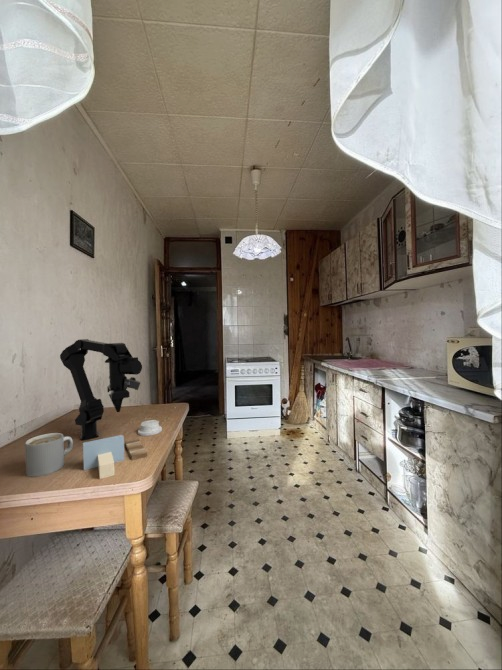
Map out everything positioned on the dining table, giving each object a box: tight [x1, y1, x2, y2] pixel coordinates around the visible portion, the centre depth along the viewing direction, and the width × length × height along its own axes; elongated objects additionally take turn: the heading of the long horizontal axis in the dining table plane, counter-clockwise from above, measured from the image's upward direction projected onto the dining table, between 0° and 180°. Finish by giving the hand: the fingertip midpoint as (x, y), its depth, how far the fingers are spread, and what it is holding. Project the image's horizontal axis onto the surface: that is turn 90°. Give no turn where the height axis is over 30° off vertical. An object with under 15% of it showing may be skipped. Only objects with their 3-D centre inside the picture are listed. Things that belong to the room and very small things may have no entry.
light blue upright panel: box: [82, 434, 125, 480], centre depth 88 cm, size 12×12×8 cm
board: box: [124, 438, 148, 461], centre depth 101 cm, size 16×5×1 cm, turn 33°
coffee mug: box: [24, 432, 74, 478], centre depth 90 cm, size 13×10×10 cm
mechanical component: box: [137, 419, 163, 437], centre depth 120 cm, size 10×4×10 cm
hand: (118, 411), depth 110 cm, fingers closed
